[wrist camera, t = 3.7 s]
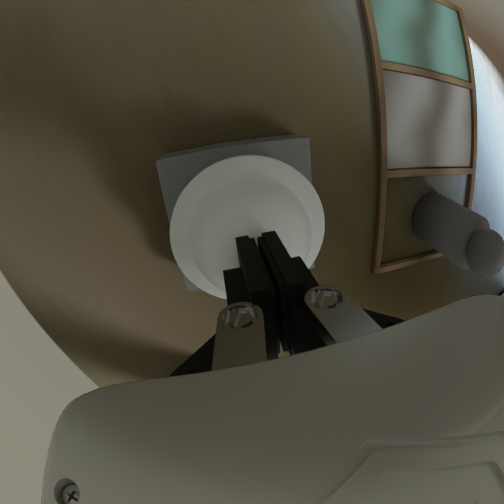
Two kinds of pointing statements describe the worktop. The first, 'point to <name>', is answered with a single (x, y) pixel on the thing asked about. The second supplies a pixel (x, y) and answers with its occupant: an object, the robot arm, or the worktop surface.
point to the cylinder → (458, 234)
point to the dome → (242, 216)
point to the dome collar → (196, 159)
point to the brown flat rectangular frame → (420, 99)
